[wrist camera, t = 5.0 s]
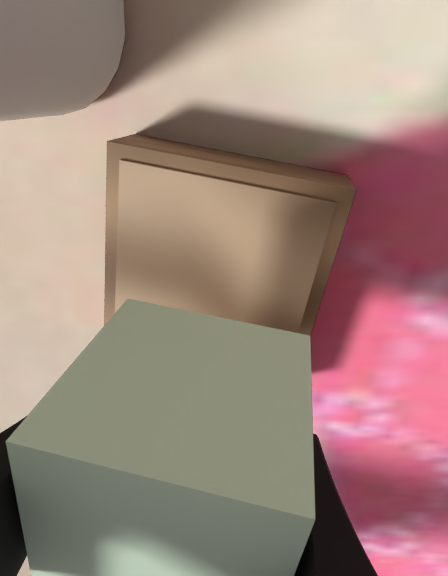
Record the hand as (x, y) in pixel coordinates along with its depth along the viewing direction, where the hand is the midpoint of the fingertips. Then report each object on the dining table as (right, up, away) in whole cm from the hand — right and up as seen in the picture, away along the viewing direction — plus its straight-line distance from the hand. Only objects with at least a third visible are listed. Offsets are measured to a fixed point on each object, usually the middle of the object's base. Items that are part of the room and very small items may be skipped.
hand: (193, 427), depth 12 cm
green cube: (0, +1, +2) cm, 2 cm away
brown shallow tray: (+1, +5, +8) cm, 10 cm away
